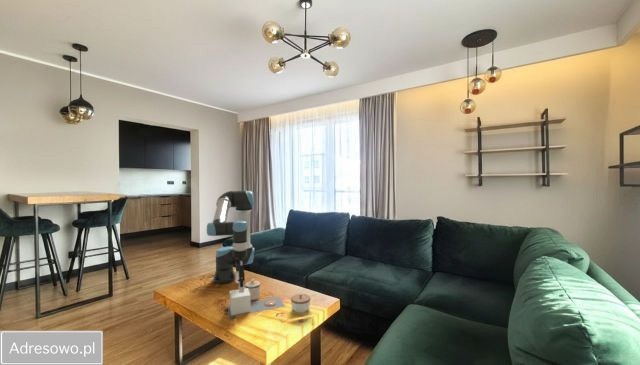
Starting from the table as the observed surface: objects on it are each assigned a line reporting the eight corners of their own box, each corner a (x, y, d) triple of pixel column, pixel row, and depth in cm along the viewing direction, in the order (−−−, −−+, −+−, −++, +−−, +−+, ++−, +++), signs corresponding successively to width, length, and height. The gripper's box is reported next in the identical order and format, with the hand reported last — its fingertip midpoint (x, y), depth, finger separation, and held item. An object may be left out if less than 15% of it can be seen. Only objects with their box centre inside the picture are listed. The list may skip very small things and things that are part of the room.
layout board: (227, 308, 149) (227, 305, 149) (279, 298, 161) (279, 296, 161) (229, 319, 137) (229, 316, 137) (285, 308, 149) (285, 305, 149)
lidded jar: (287, 311, 146) (287, 294, 146) (301, 304, 153) (301, 288, 153) (299, 318, 138) (299, 300, 138) (314, 311, 146) (314, 294, 145)
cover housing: (229, 306, 148) (229, 290, 148) (247, 303, 152) (247, 288, 152) (231, 315, 139) (231, 298, 139) (250, 311, 143) (250, 295, 143)
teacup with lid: (263, 296, 163) (263, 278, 163) (254, 303, 155) (254, 283, 155) (247, 293, 168) (247, 275, 168) (237, 299, 159) (237, 280, 159)
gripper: (230, 244, 155) (230, 279, 156) (235, 256, 132) (235, 298, 133) (243, 243, 158) (244, 277, 159) (250, 255, 135) (250, 295, 136)
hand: (239, 287), depth 146 cm, fingers open, 13 cm apart
